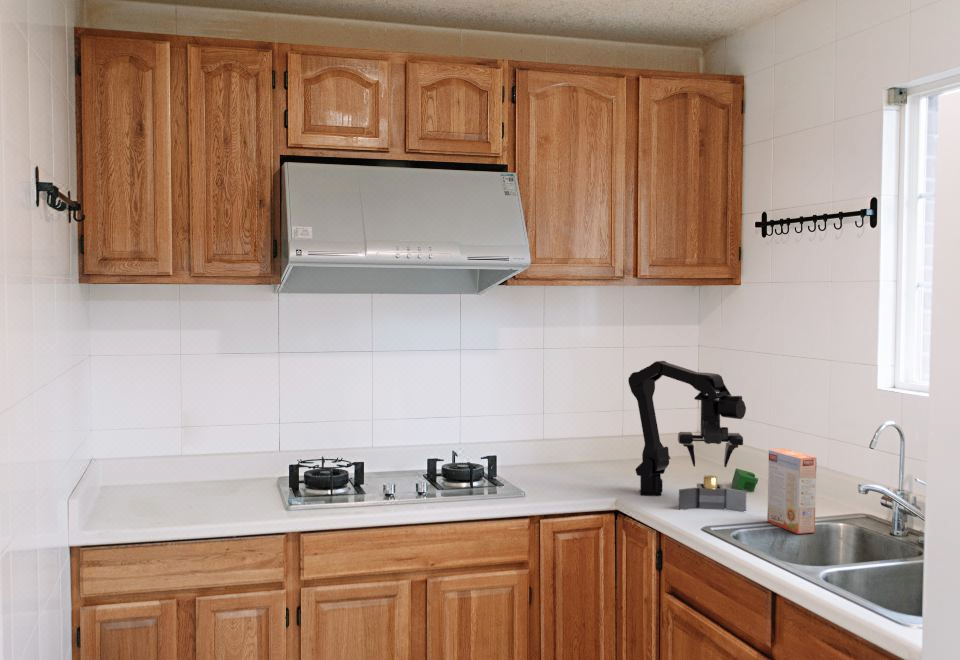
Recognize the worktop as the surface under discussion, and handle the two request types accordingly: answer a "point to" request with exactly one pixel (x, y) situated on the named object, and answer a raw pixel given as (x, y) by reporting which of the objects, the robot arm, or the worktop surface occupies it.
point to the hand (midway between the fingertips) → (709, 466)
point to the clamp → (744, 480)
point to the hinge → (712, 498)
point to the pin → (710, 481)
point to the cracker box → (792, 490)
